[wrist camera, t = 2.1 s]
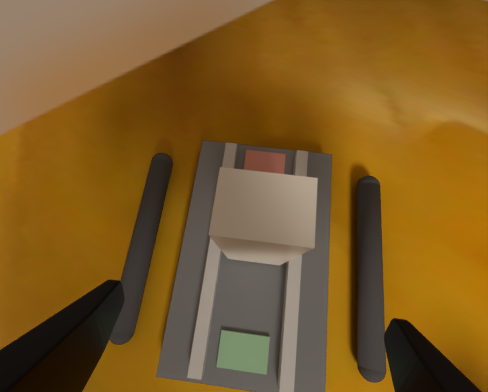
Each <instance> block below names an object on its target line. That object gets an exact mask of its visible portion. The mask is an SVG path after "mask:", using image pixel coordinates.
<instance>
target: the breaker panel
mask: <svg viewBox="0 0 488 392" xmlns="http://www.w3.org/2000/svg"><path fill="white" fill-rule="evenodd" d="M220 167H225V168H233V169H242V170H251V171H260V172H269V173H278V174H287V175H295V176H304V177H313V178H318V183H317V205H316V227H315V248H314V249H312V250H310V251H308V252H306V253H304V254H302V255H300V256H298V257H296V258H294V259H292V260H289V261H287V262H285V263H283V264H281V265H272V264H264V263H256V262H249V261H241V260H233V259H228V258H227V257H226V256H225V254H224V253H223V252H222V251H221V249H220V248H219V247H218V246H217V245H216V243H215V242H214V241H213V240H212V239H211V237H210V236H209V229H210V223H211V217H212V211H213V205H214V199H215V193H216V187H217V181H218V175H219V170H220ZM331 167H332V154H324V153H315V152H308V151H301V150H297V151H296V150H287V149H278V148H269V147H259V146H250V145H241V144H237V143H228V142H226V143H222V142H213V141H204V140H203V141H202V146H201V151H200V156H199V161H198V166H197V171H196V177H195V182H194V187H193V192H192V197H191V202H190V207H189V212H188V217H187V222H186V227H185V232H184V238H183V243H182V248H181V253H180V258H179V263H178V268H177V273H176V278H175V283H174V288H173V293H172V299H171V304H170V309H169V314H168V319H167V324H166V329H165V334H164V339H163V344H162V349H161V354H160V360H159V365H158V370H157V375H156V377H162V378H169V379H175V380H182V381H188V382H195V383H201V384H208V385H214V386H221V387H227V388H234V389H240V390H247V391H254V392H325V381H326V345H327V310H328V274H329V239H330V203H331Z"/></svg>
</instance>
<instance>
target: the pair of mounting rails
mask: <svg viewBox="0 0 488 392" xmlns="http://www.w3.org/2000/svg"><path fill="white" fill-rule="evenodd" d="M172 164H173V162H172V159H171V157H170V156H169V155H167V154H165V153H158V154H156V155H155V156H154V157H153V158H152V161H151V165H150V169H149V173H148V177H147V180H146V184H145V188H144V192H143V196H142V200H141V204H140V208H139V212H138V216H137V219H136V223H135V227H134V231H133V235H132V239H131V243H130V247H129V251H128V255H127V258H126V262H125V266H124V270H123V274H122V278H121V282H122V285H123V290H124V296H125V301H124V305H123V307H122V310H121V312H120V315H119V317H118V319H117V322H116V324H115V326H114V329H113V331H112V334H111V336H110V338H109V340H110V341H111V342H112V343H114V344H117V345H121V344H124V343H126V342H128V341H129V340H130V339H131V338H132V336H133V334H134V331H135V327H136V323H137V318H138V314H139V310H140V305H141V301H142V296H143V292H144V288H145V283H146V279H147V275H148V270H149V266H150V261H151V257H152V253H153V248H154V244H155V240H156V235H157V231H158V226H159V222H160V218H161V213H162V209H163V205H164V200H165V196H166V191H167V187H168V183H169V178H170V174H171V170H172ZM384 334H385V323H384V292H383V261H382V230H381V199H380V183H379V181H378V180H377V179H376V178H375V177H372V176H365V177H363V178H361V179H360V180H359V181H358V183H357V365H358V370H359V372H360V374H361V375H362V376H363V377H364V378H365V379H366V380H367V381H370V382H373V383H377V382H380V381H382V380H383V379H384V377H385V374H386V355H385V344H384Z"/></svg>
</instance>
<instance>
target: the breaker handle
mask: <svg viewBox="0 0 488 392" xmlns="http://www.w3.org/2000/svg"><path fill="white" fill-rule="evenodd" d="M317 183H318V178H313V177H304V176H295V175H287V174H278V173H269V172H260V171H251V170H242V169H233V168H225V167H220V170H219V175H218V181H217V187H216V193H215V199H214V205H213V211H212V217H211V223H210V229H209V236H210V237H211V239H212V240H213V241H214V242H215V243H216V245H217V246H218V247H219V248H220V249H221V251H222V252H223V253H224V254H225V256H226V257H227V258H228V259H233V260H241V261H249V262H256V263H264V264H272V265H281V264H283V263H285V262H287V261H289V260H292V259H294V258H296V257H298V256H300V255H302V254H304V253H306V252H308V251H310V250H312V249H314V248H315V227H316V205H317Z"/></svg>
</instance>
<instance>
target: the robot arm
mask: <svg viewBox="0 0 488 392" xmlns="http://www.w3.org/2000/svg"><path fill="white" fill-rule="evenodd" d="M124 301H125V296H124V290H123V285H122V282H121V281H118V280H107V281H106V282H104V283H103V284H101V285H99V286H98V287H96V288H95V289H93V290H92V291H90V292H89V293H87V294H86V295H84V296H83V297H81V298H79V299H78V300H76V301H75V302H73V303H72V304H70V305H69V306H67V307H66V308H64V309H63V310H61V311H59V312H58V313H56V314H55V315H53V316H52V317H50V318H49V319H47V320H46V321H44V322H43V323H41V324H39V325H38V326H36V327H35V328H33V329H32V330H30V331H29V332H27V333H26V334H24V335H23V336H21V337H19V338H18V339H16V340H15V341H13V342H12V343H10V344H9V345H7V346H6V347H4V348H3V349H1V350H0V392H82V391H83V389H84V387H85V385H86V384H87V382H88V380H89V378H90V376H91V374H92V372H93V371H94V369H95V367H96V365H97V363H98V361H99V359H100V358H101V356H102V354H103V352H104V350H105V348H106V345H107V343H108V341H109V338H110V336H111V334H112V331H113V329H114V326H115V324H116V322H117V319H118V317H119V315H120V312H121V310H122V307H123V305H124ZM384 344H385V348H386V353H387V358H388V362H389V367H390V371H391V376H392V381H393V385H394V389H395V392H481V391H480V390H479V389H478V388H477V387H476V386H475V385H474V384H473V383H472V382H471V381H470V380H469V379H468V378H467V377H466V376H465V375H464V374H463V373H462V372H461V371H460V370H459V369H457V368H456V367H455V366H454V365H453V364H452V363H451V362H450V361H449V360H448V359H447V358H446V357H445V356H444V355H443V354H442V353H441V352H440V351H439V350H438V349H437V348H436V347H435V346H434V345H433V344H432V343H431V342H429V341H428V340H427V339H426V338H425V337H424V336H423V335H422V334H421V333H420V332H419V331H418V330H417V329H416V328H415V327H414V326H413V325H412V324H411V323H410V322H409V321H407V320H404V319H397V318H394V319H392V320H391V322H390V324H389V326H388V328H387V330H386V332H385V334H384Z"/></svg>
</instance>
